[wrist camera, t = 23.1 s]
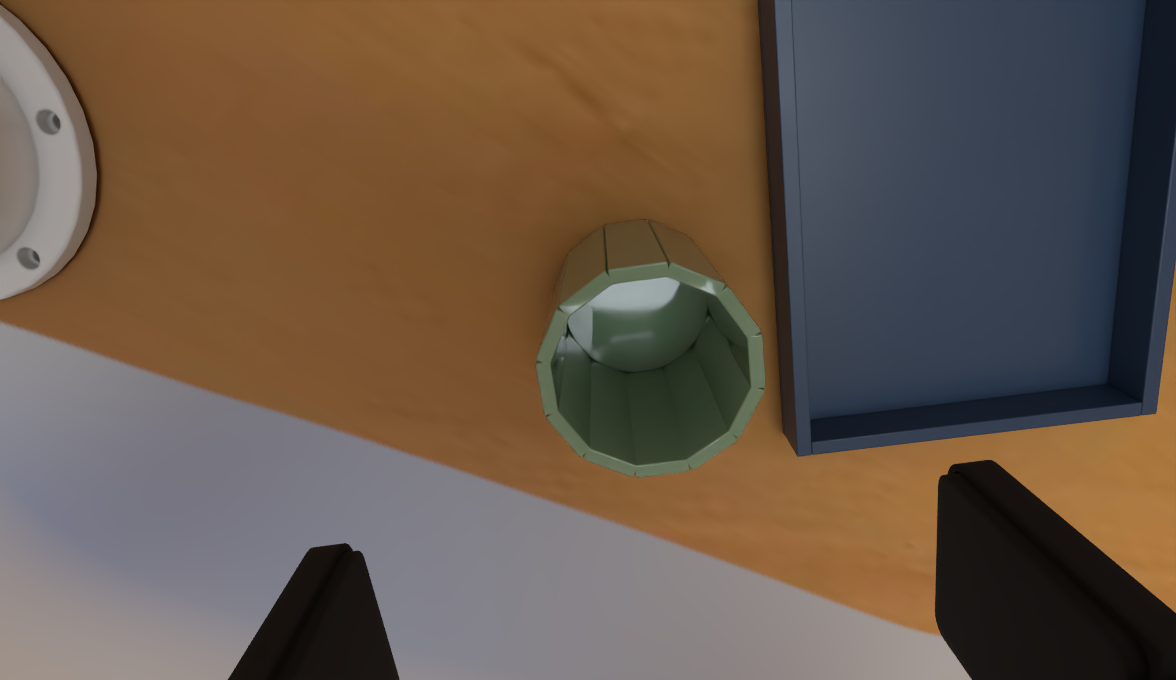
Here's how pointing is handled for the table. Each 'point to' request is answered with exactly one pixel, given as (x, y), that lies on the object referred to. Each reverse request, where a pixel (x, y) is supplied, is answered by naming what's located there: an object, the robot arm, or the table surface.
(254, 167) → the table surface
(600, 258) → the ceramic cup
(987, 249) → the tray
